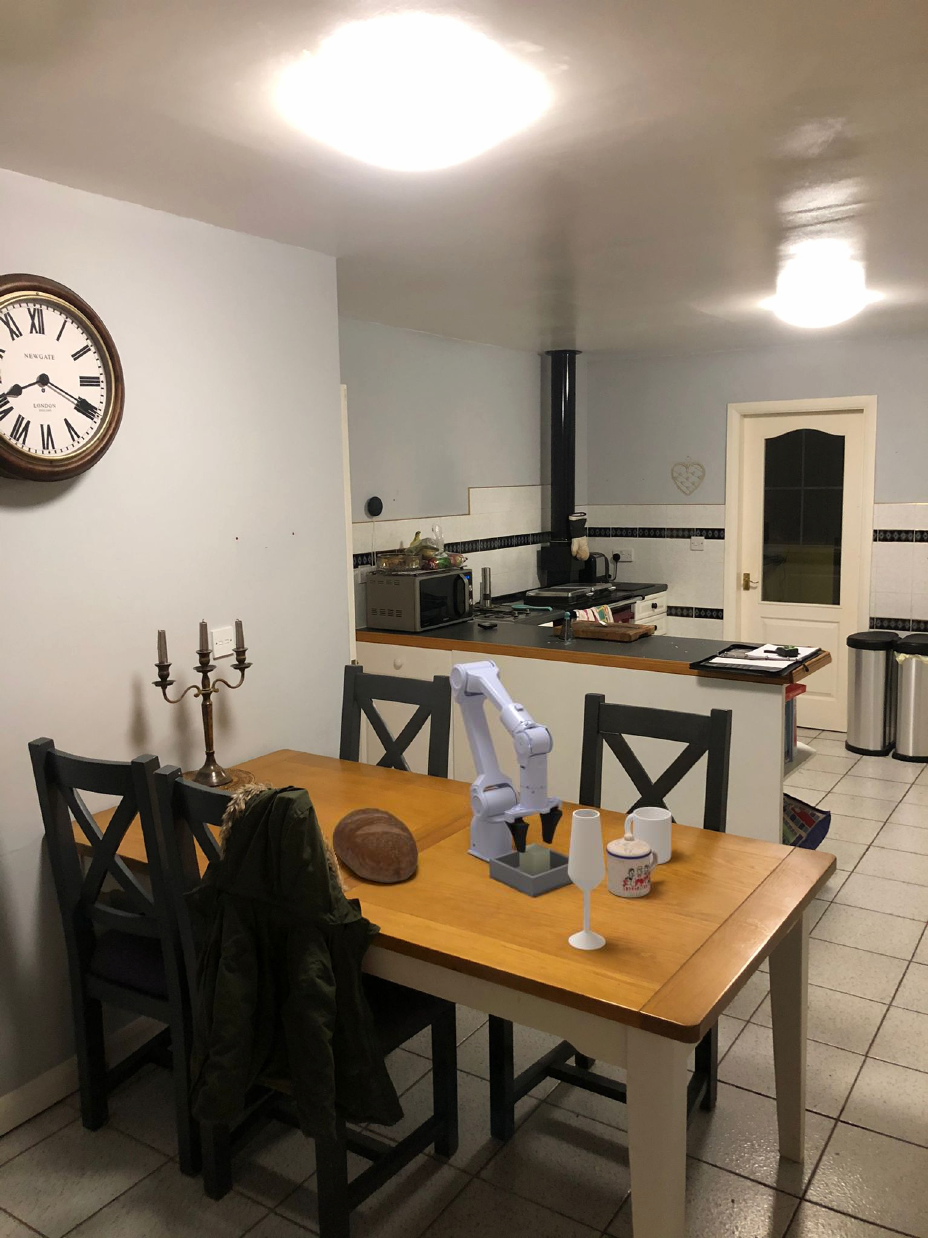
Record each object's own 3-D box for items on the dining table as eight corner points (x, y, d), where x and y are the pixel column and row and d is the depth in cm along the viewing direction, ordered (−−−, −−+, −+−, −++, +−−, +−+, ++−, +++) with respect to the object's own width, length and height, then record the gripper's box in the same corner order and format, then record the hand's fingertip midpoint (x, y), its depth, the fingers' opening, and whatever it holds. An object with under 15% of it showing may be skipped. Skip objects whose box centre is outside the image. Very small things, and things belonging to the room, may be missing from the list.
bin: (489, 877, 202) (489, 859, 202) (536, 860, 210) (536, 843, 210) (532, 897, 192) (532, 878, 191) (580, 879, 200) (580, 861, 199)
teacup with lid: (625, 902, 188) (625, 846, 187) (597, 886, 196) (597, 832, 195) (671, 889, 194) (672, 834, 193) (642, 874, 202) (642, 821, 200)
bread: (365, 893, 196) (363, 840, 195) (320, 847, 222) (318, 800, 221) (433, 878, 203) (432, 826, 202) (382, 835, 229) (381, 789, 228)
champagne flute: (602, 932, 176) (601, 806, 173) (608, 949, 169) (608, 819, 166) (565, 933, 176) (564, 808, 173) (571, 950, 169) (570, 820, 166)
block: (519, 875, 201) (519, 848, 200) (535, 869, 204) (534, 843, 203) (534, 881, 198) (534, 854, 197) (549, 876, 201) (549, 848, 200)
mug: (613, 852, 214) (612, 808, 213) (638, 843, 219) (638, 800, 218) (653, 868, 205) (653, 822, 204) (679, 858, 210) (679, 813, 208)
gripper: (520, 796, 191) (521, 861, 193) (572, 782, 200) (572, 844, 202) (497, 788, 196) (498, 851, 198) (548, 774, 205) (549, 834, 207)
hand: (534, 847), depth 200 cm, fingers open, 7 cm apart
